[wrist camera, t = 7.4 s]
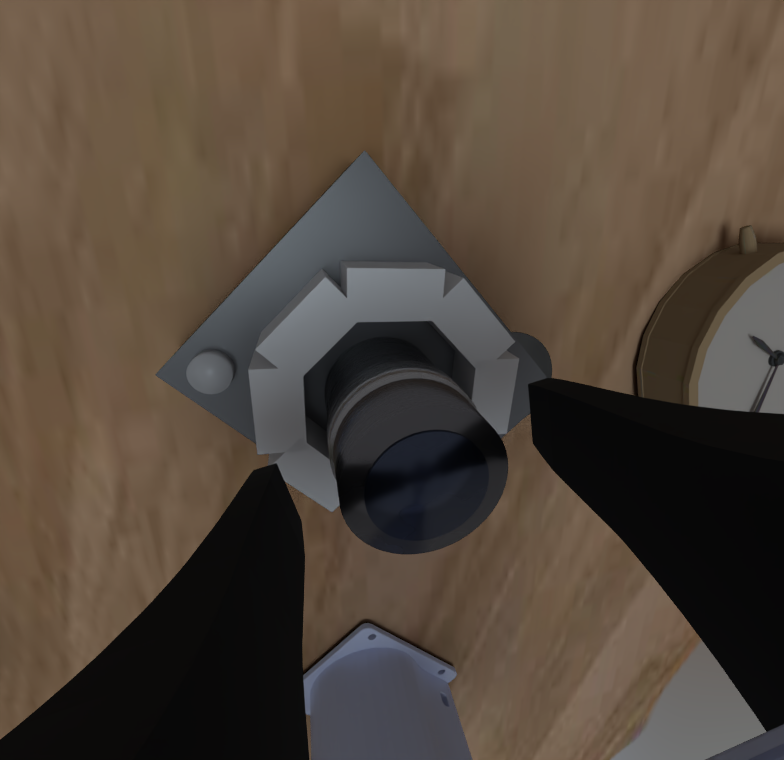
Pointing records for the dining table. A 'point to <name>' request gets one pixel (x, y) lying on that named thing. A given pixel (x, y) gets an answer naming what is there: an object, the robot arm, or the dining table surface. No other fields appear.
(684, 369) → the alarm clock
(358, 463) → the lens
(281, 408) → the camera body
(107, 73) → the dining table surface
